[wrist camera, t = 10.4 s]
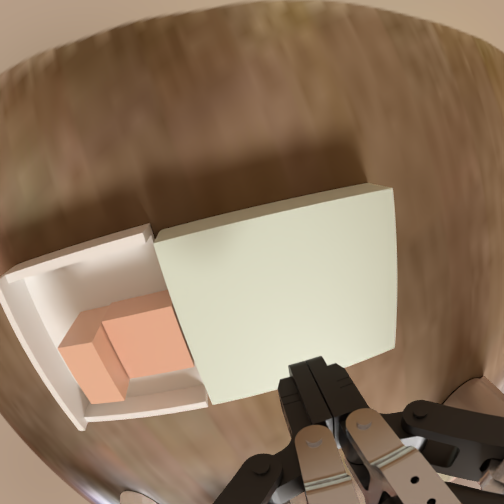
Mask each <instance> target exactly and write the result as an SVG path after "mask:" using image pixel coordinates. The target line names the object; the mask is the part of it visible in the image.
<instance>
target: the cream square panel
mask: <svg viewBox="0 0 504 504" xmlns="http://www.w3.org/2000/svg"><path fill="white" fill-rule="evenodd" d="M153 244H154V248H155V251H156V254H157V257H158V261H159V264H160V267H161V270H162V273H163V276H164V279H165V282H166V285H167V288H168V291H169V294H170V297H171V300H172V303H173V306H174V308H175V311H176V314H177V317H178V320H179V322H180V325H181V328H182V330H183V333H184V336H185V338H186V341H187V344H188V346H189V349H190V351H191V354H192V356H193V359H194V361H195V364H196V366H197V369H198V371H199V374H200V376H201V379H202V381H203V383H204V386H205V388H206V390H207V393H208V395H209V397H210V400H211V402H212V404H213V405H215V404H219V403H224V402H229V401H233V400H237V399H242V398H246V397H250V396H254V395H258V394H262V393H265V392H269V391H273V390H276V389H278V385H279V381H280V379H283V378H287V377H290V375H289V369H288V365H291V364H294V363H298V362H302V361H305V360H308V359H312V358H315V357H318V356H322V357H323V359H324V360H325V362H326V364H327V366H328V365H331V364H334V363H337V364H338V365H340V366H341V367H343V368H345V367H348V366H351V365H353V364H356V363H358V362H361V361H364V360H366V359H369V358H371V357H374V356H376V355H379V354H381V353H384V352H386V351H388V350H391V349H393V348H395V335H396V316H397V242H396V222H395V208H394V196H393V188H390V187H386V186H381V185H377V184H372V183H364V184H359V185H354V186H349V187H344V188H339V189H334V190H329V191H324V192H319V193H314V194H309V195H305V196H300V197H295V198H291V199H286V200H282V201H277V202H273V203H268V204H264V205H259V206H255V207H251V208H247V209H242V210H238V211H234V212H230V213H226V214H221V215H217V216H213V217H209V218H205V219H201V220H197V221H193V222H189V223H186V224H182V225H178V226H174V227H170V228H166V229H163V230H160V232H159V233H158V235H157V237H156V239H155V241H154V243H153Z"/></svg>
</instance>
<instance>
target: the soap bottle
mask: <svg viewBox="0 0 504 504" xmlns="http://www.w3.org/2000/svg"><path fill="white" fill-rule="evenodd" d="M120 504H157V503H156V502H154V501H153V500H152V499H150V498H148V497H146V496H144V495H142V494H140V493H137V492H133V491H124V492H122V493H121V494H120Z"/></svg>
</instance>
